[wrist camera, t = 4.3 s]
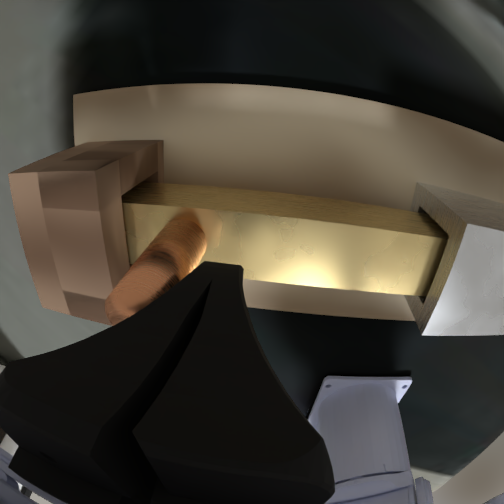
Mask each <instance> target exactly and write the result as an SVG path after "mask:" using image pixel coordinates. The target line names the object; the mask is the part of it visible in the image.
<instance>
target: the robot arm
mask: <svg viewBox="0 0 504 504" xmlns="http://www.w3.org/2000/svg"><path fill="white" fill-rule="evenodd" d="M243 274H244V269H243V267H242V266H241V265H235V264H227V263H218V262H210V261H204V262H202V263H201V264H200V265H199V266H197V267H196V268H195V269H194V270H193V271H191V272H190V273H189V274H188V275H187V276H185V277H184V278H183V279H182V280H181V281H179V282H178V283H177V284H176V285H174V286H173V287H172V288H170V289H169V290H168V291H167V292H165V293H164V294H163V295H161V296H160V297H159V298H157V299H156V300H154V301H153V302H151V303H150V304H149V305H147V306H146V307H144V308H143V309H141V310H140V311H138V312H137V313H135V314H133V315H132V316H130V317H128V318H126V319H125V320H123V321H121V322H119V323H118V324H116V325H114V326H112V327H110V328H108V329H106V330H103V331H101V332H99V333H97V334H95V335H93V336H91V337H88V338H86V339H84V340H81V341H79V342H76V343H74V344H71V345H69V346H66V347H63V348H60V349H57V350H54V351H51V352H47V353H44V354H40V355H36V356H32V357H28V358H24V359H20V360H16V361H11V362H9V363H8V364H7V365H6V367H5V368H4V369H3V371H2V372H1V374H0V427H1V428H2V430H3V431H4V432H5V433H6V434H7V435H8V436H9V437H10V438H11V439H12V440H13V441H14V442H15V443H16V444H17V445H18V448H17V450H16V452H15V454H14V456H12V455H11V454H9V453H8V452H6V451H5V450H4V449H2V448H1V447H0V504H38V503H37V502H35V501H33V500H32V499H30V498H28V497H27V496H25V495H24V494H22V493H21V491H20V489H19V485H18V483H20V484H21V485H23V486H24V487H26V488H27V489H29V490H31V491H32V492H34V493H35V494H37V495H39V496H41V497H42V498H44V499H46V500H48V501H49V502H51V503H53V504H434V503H433V497H432V491H431V485H430V481H428V480H426V479H423V477H419V478H417V479H415V484H416V491H415V484H414V479H413V476H412V472H411V469H410V463H409V457H408V452H407V446H406V441H405V436H404V431H403V426H402V421H401V416H400V412H399V407H398V402H399V401H400V400H401V398H402V397H403V395H404V394H405V392H406V391H407V389H408V388H409V386H410V385H411V383H412V379H411V377H353V376H327V377H325V378H324V380H323V382H322V385H321V387H320V390H319V393H318V395H317V398H316V400H315V403H314V405H313V407H312V410H311V412H310V415H309V417H308V419H306V418H305V416H304V415H303V414H302V413H301V411H300V410H299V409H298V407H297V406H296V404H295V403H294V402H293V400H292V399H291V398H290V396H289V395H288V393H287V392H286V390H285V389H284V387H283V385H282V384H281V382H280V380H279V379H278V377H277V376H276V374H275V372H274V371H273V369H272V367H271V366H270V364H269V362H268V360H267V358H266V356H265V354H264V352H263V350H262V347H261V345H260V343H259V341H258V338H257V336H256V333H255V331H254V328H253V325H252V322H251V319H250V316H249V313H248V309H247V305H246V301H245V296H244V291H243ZM16 481H17V482H18V483H17V482H16ZM484 504H504V493H502V494H500V495H498V496H496V497H494V498H492V499H490V500H489V501H487V502H485V503H484Z"/></svg>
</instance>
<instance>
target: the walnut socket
mask: <svg viewBox="0 0 504 504" xmlns="http://www.w3.org/2000/svg"><path fill="white" fill-rule="evenodd" d="M8 175H9V182H10V188H11V194H12V199H13V205H14V210H15V215H16V219H17V224H18V228H19V232H20V236H21V240H22V244H23V248H24V252H25V255H26V259H27V262H28V265H29V269H30V272H31V275H32V278H33V281H34V284H35V287H36V290H37V293H38V296H39V299H40V301H41V304H42V307H44V308H47V309H51V310H54V311H58V312H61V313H65V314H68V315H72V316H76V317H79V318H83V319H87V320H91V321H95V322H99V323H103V324H107V325H112V324H111V323H110V321H109V320H108V318H107V315H106V312H105V301H106V299H107V297H108V296H109V294H110V293H111V292H112V290H113V289H114V288H115V287H116V285H117V284H118V283H119V281H120V280H121V279H122V278H123V276H124V275H125V274H126V273H127V271H128V270H129V269H130V267H131V266H132V265H133V264H129V259H128V252H127V244H126V237H125V228H124V219H123V210H122V199H121V196H122V195H123V194H124V193H126V192H127V191H129V190H130V189H132V188H133V187H135V186H136V185H138V184H139V183H141V182H147V183H164V140H122V141H98V142H86V143H83V144H80V145H77V146H75V147H72V148H69V149H66V150H64V151H61V152H58V153H56V154H53V155H51V156H48V157H46V158H43V159H41V160H38V161H36V162H34V163H31V164H29V165H27V166H24V167H22V168H20V169H18V170H15V171H13V172H11V173H9V174H8Z"/></svg>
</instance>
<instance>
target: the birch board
mask: <svg viewBox="0 0 504 504" xmlns="http://www.w3.org/2000/svg"><path fill="white" fill-rule="evenodd" d="M73 118H74V141H75V146H77V145H80V144H83V143H86V142H98V141H122V140H164V183H167V184H185V185H200V186H213V187H226V188H238V189H249V190H259V191H269V192H278V193H287V194H296V195H305V196H313V197H321V198H328V199H336V200H343V201H350V202H357V203H364V204H370V205H377V206H383V207H389V208H395V209H401V210H407V211H410V208H411V204H412V200H413V196H414V192H415V187H416V183H417V182H421V183H425V184H430V185H434V186H438V187H443V188H447V189H451V190H455V191H459V192H463V193H467V194H470V195H474V196H478V197H482V198H485V199H489V200H492V201H496V202H499V203H502V204H504V142H502V141H499V140H497V139H495V138H492V137H490V136H487V135H485V134H482V133H480V132H477V131H474V130H472V129H469V128H466V127H463V126H460V125H458V124H455V123H452V122H449V121H446V120H442V119H439V118H436V117H433V116H429V115H426V114H423V113H419V112H415V111H412V110H408V109H404V108H400V107H396V106H392V105H388V104H384V103H379V102H375V101H370V100H365V99H360V98H355V97H350V96H344V95H338V94H332V93H326V92H319V91H312V90H304V89H295V88H286V87H275V86H262V85H246V84H213V83H198V84H165V85H148V86H136V87H126V88H116V89H108V90H101V91H94V92H87V93H81V94H75V95H73ZM243 291H244V296H245V301H246V305H247V307H253V308H261V309H270V310H279V311H289V312H299V313H309V314H320V315H331V316H344V317H357V318H371V319H387V320H406V321H415V319H414V316H413V314H412V312H411V310H410V307H409V305H408V303H407V301H406V299H405V297H404V295H402V294H390V293H378V292H367V291H356V290H345V289H335V288H325V287H315V286H305V285H295V284H286V283H277V282H268V281H259V280H250V279H243Z"/></svg>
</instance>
